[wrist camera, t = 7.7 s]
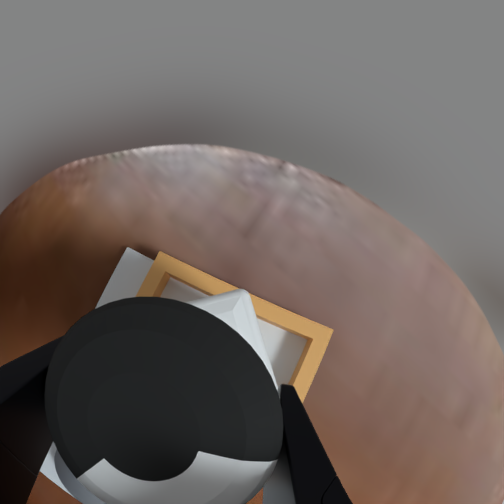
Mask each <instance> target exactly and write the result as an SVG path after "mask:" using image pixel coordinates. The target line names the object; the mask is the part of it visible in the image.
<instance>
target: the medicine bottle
mask: <svg viewBox="0 0 504 504" xmlns="http://www.w3.org/2000/svg"><path fill="white" fill-rule="evenodd" d="M277 390H278V386H277V382H276V379H275V376H274V373H273V370H272V366H271V363H270V360H269V357H268V353H267V350H266V347H265V344H264V340H263V337H262V334H261V330H260V327H259V324H258V321H257V317H256V314H255V311H254V307H253V304H252V301H251V297H250V295H249V293H248V292H247V291H246V290H244V289H236V290H232V291H229V292H225V293H221V294H217V295H213V296H209V297H205V298H201V299H197V300H193V301H189V302H181V301H178V300H174V299H168V298H162V297H141V296H139V297H132V298H124V299H120V300H117V301H113V302H109V303H107V304H105V305H102V306H100V307H98V308H96V309H94V310H92V311H91V312H89V313H88V314H86V315H85V316H83V317H82V318H81V319H79V320H78V321H77V322H76V323H75V324H74V325H73V326H72V327H71V328H70V329H69V330H68V331H67V333H66V334H65V335H64V336H63V338H62V339H61V341H60V342H59V344H58V346H57V347H56V349H55V351H54V353H53V356H52V358H51V361H50V363H49V367H48V371H47V375H46V381H45V392H44V396H45V411H46V417H47V422H48V427H49V430H50V433H51V436H52V439H53V442H54V444H55V446H56V448H57V450H58V452H59V454H60V456H61V458H62V459H63V461H64V462H65V464H66V466H67V467H68V468H69V470H70V471H71V472H72V474H73V475H74V476H75V477H76V479H77V480H78V481H79V482H80V483H81V484H82V485H83V486H84V487H85V488H86V489H87V490H89V491H90V492H91V493H92V494H94V495H95V496H96V497H97V498H99V499H100V500H101V501H103V502H105V503H106V504H246V503H247V502H248V501H249V500H251V499H252V498H253V497H254V496H255V495H256V494H257V493H258V492H259V491H260V490H261V488H262V487H263V486H264V485H265V483H266V482H267V480H268V479H269V477H270V476H271V474H272V472H273V470H274V468H275V465H276V463H277V461H278V458H279V454H280V450H281V446H282V439H283V415H282V408H281V403H280V399H279V395H278V392H277Z"/></svg>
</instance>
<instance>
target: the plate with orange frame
mask: <svg viewBox="0 0 504 504" xmlns="http://www.w3.org/2000/svg"><path fill="white" fill-rule="evenodd" d="M236 289H239V288H237V287H234V286H232V285H230V284H228V283H226V282H224V281H221V280H219V279H217V278H215V277H213V276H211V275H209V274H206V273H204V272H202V271H200V270H198V269H196V268H194V267H192V266H190V265H187V264H185V263H183V262H181V261H179V260H177V259H175V258H173V257H171V256H169V255H167V254H165V253H163V252H161V251H159V253H158V255H157V257H156V259H155V260H152V259H150V258H148V257H146V256H144V255H142V254H140V253H138V252H136V251H134V250H133V249H131V248H129V247H127V249H126V250H125V252H124V254H123V256H122V258H121V259H120V261H119V263H118V265H117V267H116V269H115V270H114V272H113V274H112V276H111V278H110V280H109V282H108V284H107V286H106V288H105V290H104V292H103V294H102V296H101V298H100V300H99V302H98V304H97V306H96V308H98V307H100V306H102V305H105V304H107V303H109V302H113V301H117V300H120V299H124V298H132V297H139V296H141V297H162V298H168V299H174V300H178V301H181V302H189V301H193V300H197V299H201V298H205V297H209V296H213V295H217V294H221V293H225V292H229V291H232V290H236ZM249 295H250V297H251V301H252V304H253V307H254V311H255V314H256V317H257V321H258V324H259V327H260V330H261V334H262V337H263V340H264V344H265V347H266V350H267V353H268V357H269V360H270V363H271V366H272V370H273V373H274V376H275V379H276V382H277V386H278V387H279V385H280V384H288V385H293V386H294V387H295V389H296V391H297V394H298V396H299V398H300V400H301V402H302V403H303V400H304V398H305V396H306V394H307V392H308V390H309V387H310V385H311V383H312V381H313V378H314V376H315V374H316V372H317V369H318V367H319V365H320V362H321V360H322V357H323V355H324V353H325V350H326V348H327V345H328V343H329V340H330V338H331V335H332V333H333V329H330V328H328V327H326V326H323V325H321V324H319V323H316V322H314V321H311V320H309V319H307V318H304V317H302V316H300V315H297V314H295V313H293V312H290V311H288V310H286V309H284V308H281V307H279V306H277V305H274V304H272V303H270V302H268V301H265V300H263V299H261V298H259V297H256V296H254V295H252V294H250V293H249ZM96 308H95V309H96ZM40 471H41V472H42V473H43V474H44V475H45V476H47V477H48V478H49V479H50V480H52V481H53V482H54V483H55V484H57V485H58V486H59V487H61V488H62V489H63V490H65V491H66V492H67V493H69V494H70V495H72V496H73V497H74V498H76V499H77V500H79V501H80V502H82V503H83V504H106V503H105V502H103V501H101V500H100V499H99V498H97V497H96V496H95V495H94V494H92V493H91V492H90V491H89V490H87V489H86V488H85V487H84V486H83V485H82V484H81V483H80V482H79V481H78V480H77V479H76V477H75V476H74V475H73V474H72V472H71V471H70V470H69V468H68V467H67V466H66V464H65V462H64V461H63V459H62V458H61V456H60V454H59V452H58V450H57V448H56V446H55V444H54V442H53V443H52V445H51V447H50V449H49V451H48V454H47V456H46V458H45V460H44V462H43V464H42V467H41V469H40Z"/></svg>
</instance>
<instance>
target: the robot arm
mask: <svg viewBox="0 0 504 504" xmlns="http://www.w3.org/2000/svg"><path fill="white" fill-rule="evenodd" d="M62 338H63V336H62V337H60V338H58V339H56V340H54V341H52V342H49V343H47V344H45V345H43V346H41V347H39V348H37V349H35V350H33V351H31V352H29V353H27V354H25V355H23V356H21V357H19V358H17V359H15V360H13V361H11V362H9V363H7V364H5V365H3V366H1V367H0V504H26V503H27V500H28V498H29V495H30V493H31V490H32V488H33V485H34V483H35V481H36V478H37V475H38V473H39V471H40V469H41V467H42V464H43V462H44V460H45V458H46V456H47V454H48V451H49V449H50V447H51V445H52V443H53V439H52V436H51V433H50V430H49V427H48V422H47V417H46V411H45V396H44V392H45V381H46V375H47V371H48V367H49V363H50V361H51V358H52V356H53V353H54V351H55V349H56V347H57V346H58V344H59V342H60V341H61V339H62ZM277 392H278V395H279V399H280V403H281V408H282V415H283V439H282V446H281V450H280V454H279V458H278V461H277V463H276V465H275V468H274V470H273V472H272V474H271V476H270V477H269V479H268V480H267V482H266V483H265V485H264V486H263V504H353V503H352V502H351V500H350V499H349V497H348V495H347V493H346V491H345V489H344V488H343V486H342V484H341V482H340V480H339V478H338V476H336V475H337V474H336V472H335V470H334V468H333V466H332V464H331V462H330V460H329V458H328V456H327V454H326V452H325V450H324V448H323V445H322V443H321V441H320V439H319V437H318V435H317V433H316V431H315V429H314V427H313V425H312V423H311V421H310V419H309V417H308V414H307V412H306V410H305V408H304V406H303V404H302V402H301V400H300V398H299V396H298V394H297V391H296V389H295V387H294V386H293V385H288V384H280V385H279V387H278V390H277Z"/></svg>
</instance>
